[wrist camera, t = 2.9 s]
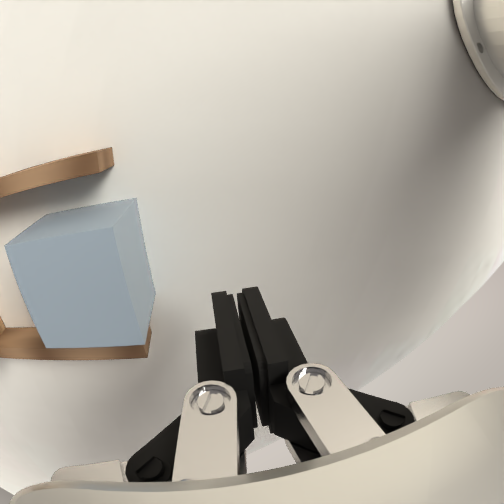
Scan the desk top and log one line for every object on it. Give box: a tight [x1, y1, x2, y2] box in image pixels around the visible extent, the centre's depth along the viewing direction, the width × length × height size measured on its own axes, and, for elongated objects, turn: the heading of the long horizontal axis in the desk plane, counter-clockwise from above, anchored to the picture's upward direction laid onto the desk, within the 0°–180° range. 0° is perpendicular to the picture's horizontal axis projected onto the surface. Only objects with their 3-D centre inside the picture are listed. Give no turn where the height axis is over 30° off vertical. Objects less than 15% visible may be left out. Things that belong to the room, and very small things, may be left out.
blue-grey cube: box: [5, 198, 156, 348], centre depth 14 cm, size 6×6×5 cm
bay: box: [0, 147, 152, 360], centre depth 13 cm, size 14×12×5 cm
